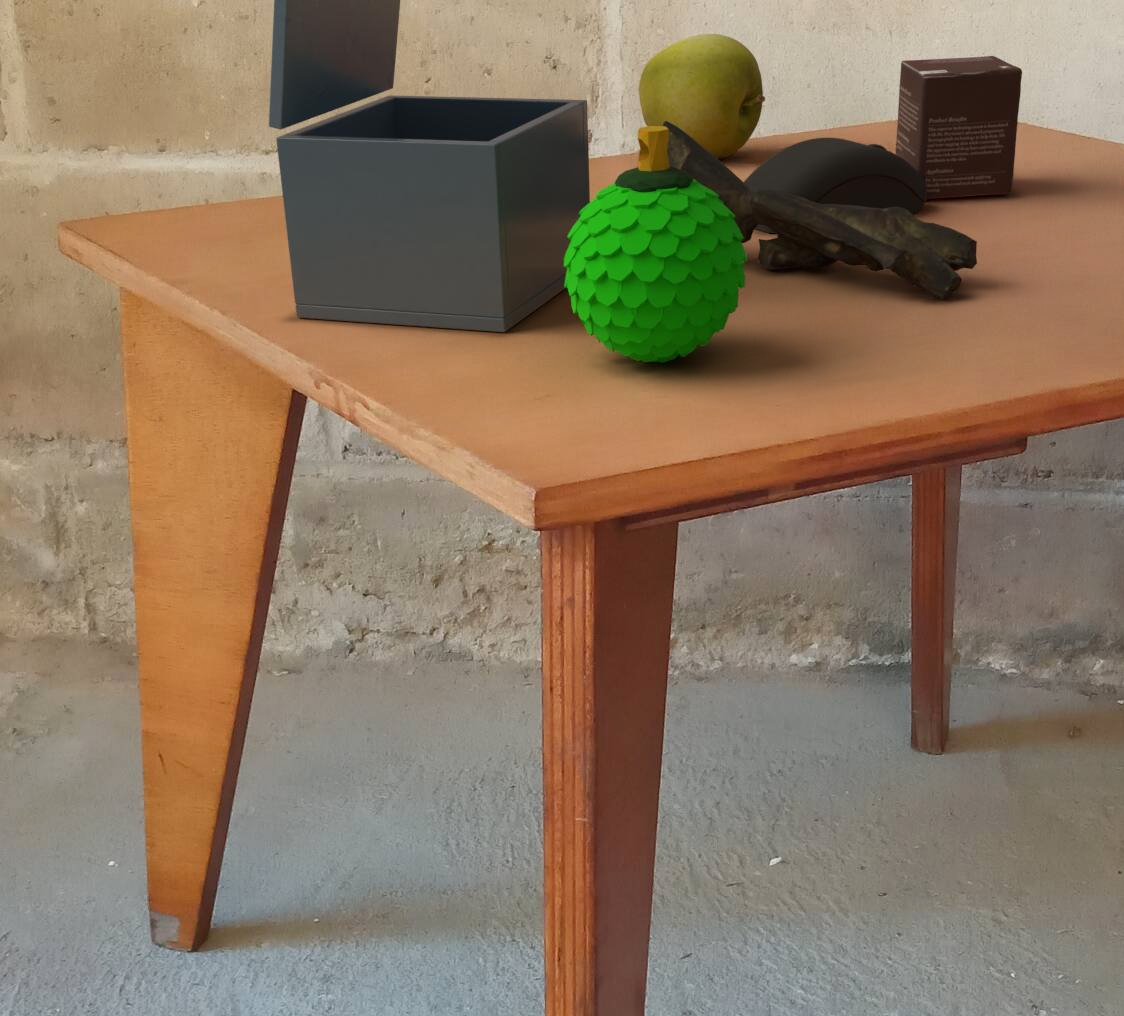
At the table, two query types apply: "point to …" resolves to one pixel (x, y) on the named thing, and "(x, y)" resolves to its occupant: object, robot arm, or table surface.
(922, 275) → the statue
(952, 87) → the box
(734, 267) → the ornament
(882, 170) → the computer mouse
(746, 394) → the table surface
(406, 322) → the compartment
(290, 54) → the lid
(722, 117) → the apple
